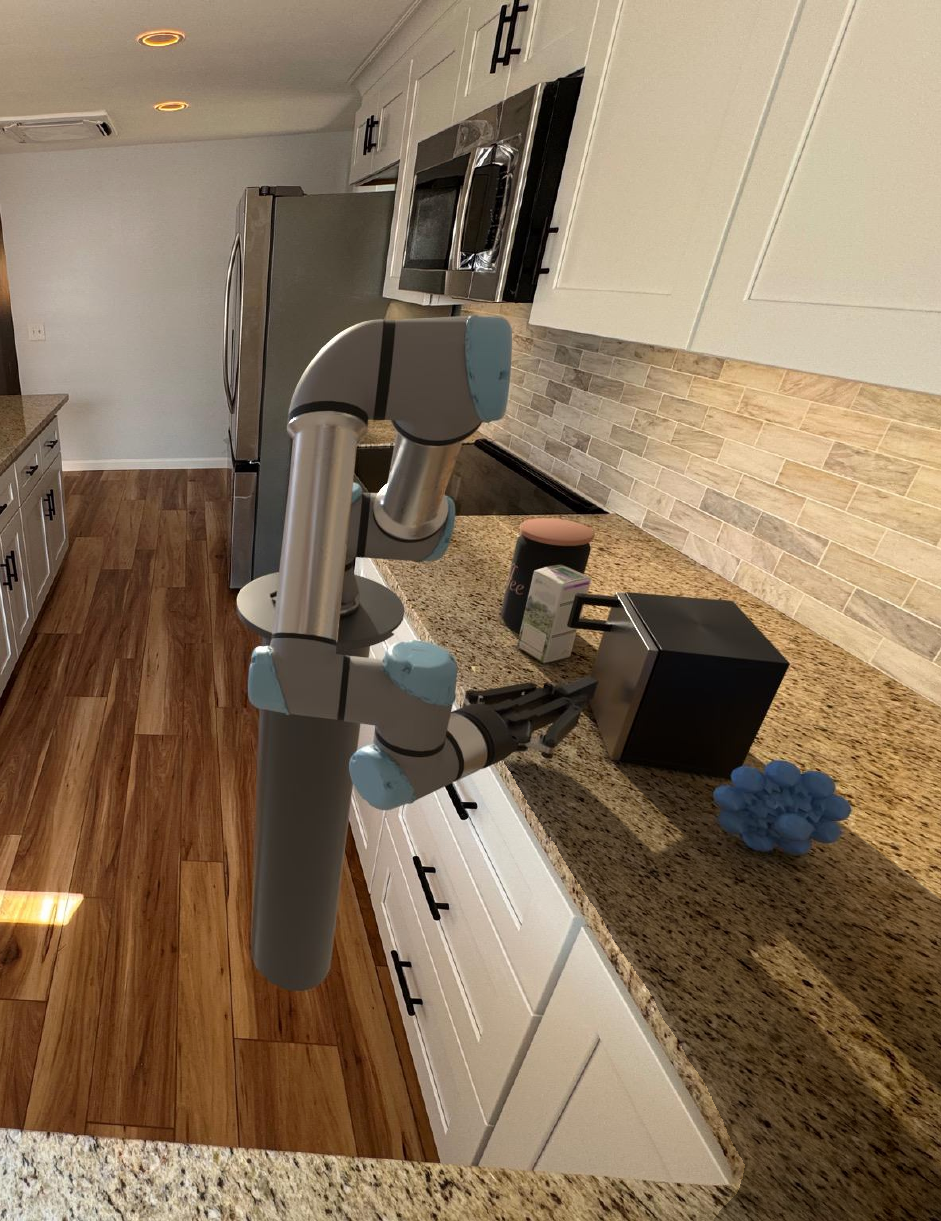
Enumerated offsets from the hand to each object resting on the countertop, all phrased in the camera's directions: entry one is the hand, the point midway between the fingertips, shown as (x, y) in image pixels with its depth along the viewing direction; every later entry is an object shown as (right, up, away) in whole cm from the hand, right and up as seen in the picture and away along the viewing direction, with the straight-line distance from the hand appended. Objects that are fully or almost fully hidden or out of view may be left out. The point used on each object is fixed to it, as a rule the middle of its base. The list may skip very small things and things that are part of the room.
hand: (590, 686), depth 91 cm
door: (+1, -5, +4) cm, 6 cm away
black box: (+10, -6, +1) cm, 12 cm away
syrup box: (+6, +3, +20) cm, 21 cm away
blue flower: (+6, -16, -18) cm, 25 cm away
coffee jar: (+9, +8, +28) cm, 31 cm away
